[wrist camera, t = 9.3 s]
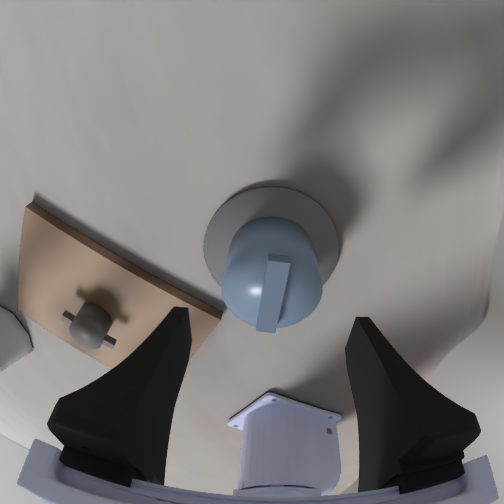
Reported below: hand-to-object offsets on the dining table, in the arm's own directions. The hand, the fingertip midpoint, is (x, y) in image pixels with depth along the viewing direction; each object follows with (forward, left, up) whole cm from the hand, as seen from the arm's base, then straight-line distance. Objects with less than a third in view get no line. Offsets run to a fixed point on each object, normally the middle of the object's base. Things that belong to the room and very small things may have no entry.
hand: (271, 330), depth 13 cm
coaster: (0, 0, -7) cm, 7 cm away
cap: (0, 0, -6) cm, 6 cm away
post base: (+8, +12, -7) cm, 16 cm away
